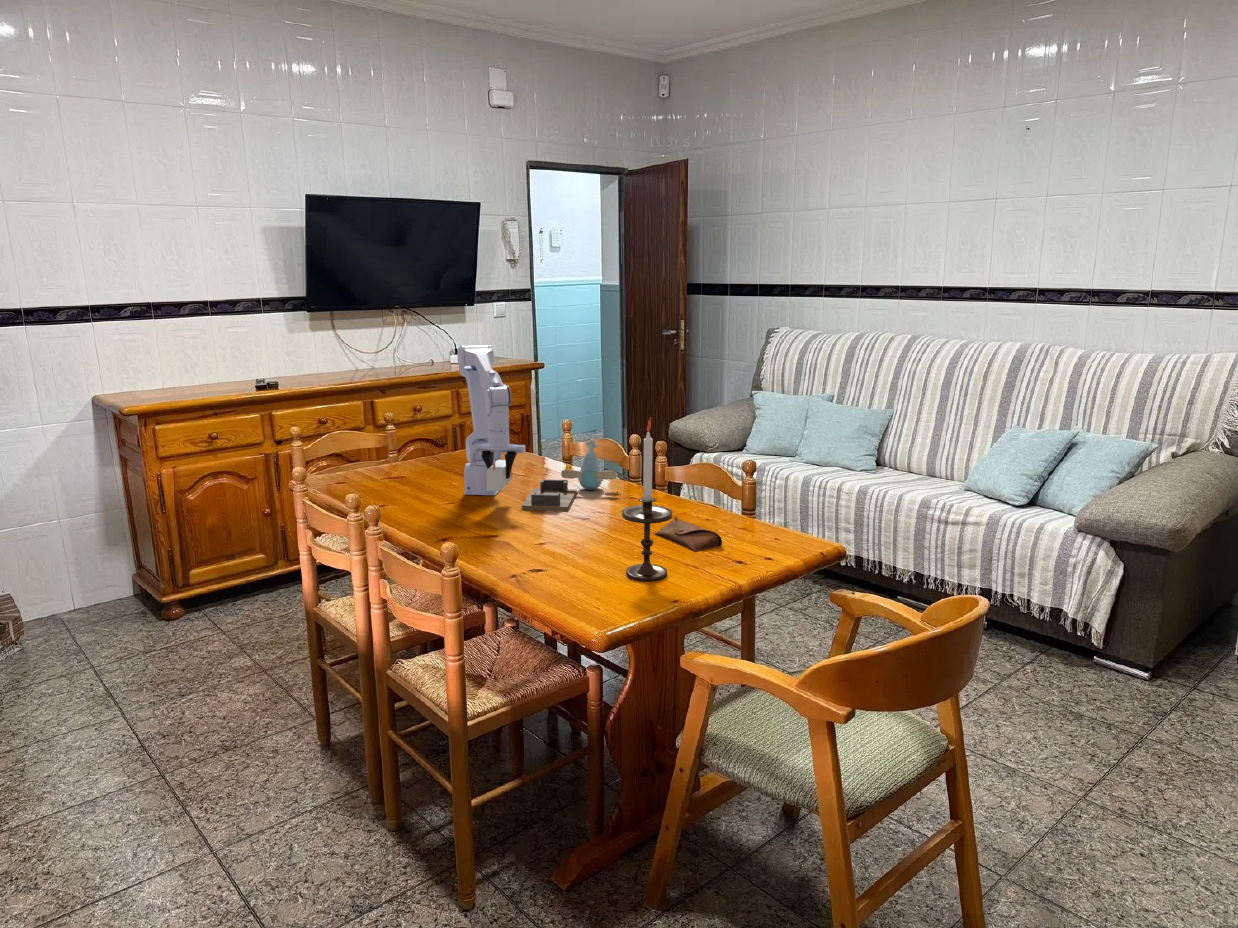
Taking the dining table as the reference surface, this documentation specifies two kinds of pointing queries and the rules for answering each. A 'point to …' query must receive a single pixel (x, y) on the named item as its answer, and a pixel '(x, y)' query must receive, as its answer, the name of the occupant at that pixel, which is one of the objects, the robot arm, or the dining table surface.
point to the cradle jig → (550, 496)
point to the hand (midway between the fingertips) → (499, 477)
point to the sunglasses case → (689, 535)
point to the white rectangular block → (497, 476)
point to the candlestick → (647, 520)
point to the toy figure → (590, 470)
